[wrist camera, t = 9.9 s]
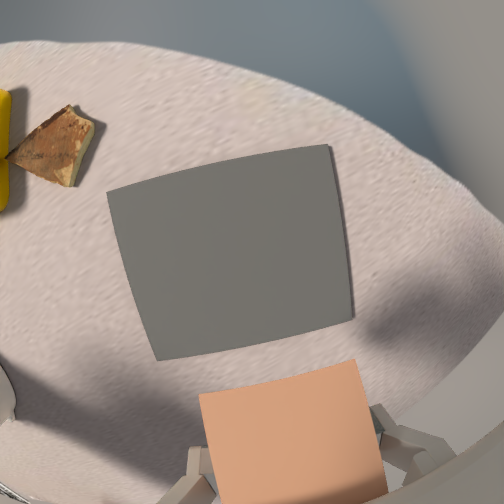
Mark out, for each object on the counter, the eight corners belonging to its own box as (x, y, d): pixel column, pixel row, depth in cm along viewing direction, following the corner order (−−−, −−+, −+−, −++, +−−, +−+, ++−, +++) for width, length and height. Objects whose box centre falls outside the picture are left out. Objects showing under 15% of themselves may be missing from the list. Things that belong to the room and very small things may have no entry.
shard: (11, 159, 22) (1, 158, 20) (36, 95, 20) (28, 91, 19) (74, 190, 23) (65, 191, 21) (105, 117, 22) (97, 112, 20)
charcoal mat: (158, 358, 27) (157, 361, 26) (108, 192, 23) (106, 192, 23) (350, 317, 27) (352, 319, 27) (325, 144, 24) (327, 143, 23)
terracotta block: (249, 481, 12) (230, 532, 5) (232, 403, 15) (198, 394, 8) (336, 461, 12) (388, 492, 5) (317, 384, 15) (354, 358, 8)
